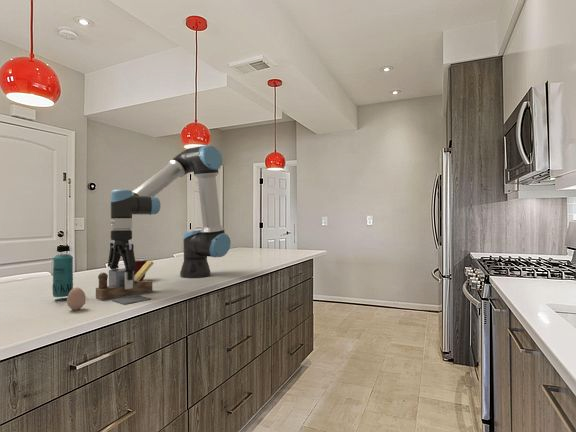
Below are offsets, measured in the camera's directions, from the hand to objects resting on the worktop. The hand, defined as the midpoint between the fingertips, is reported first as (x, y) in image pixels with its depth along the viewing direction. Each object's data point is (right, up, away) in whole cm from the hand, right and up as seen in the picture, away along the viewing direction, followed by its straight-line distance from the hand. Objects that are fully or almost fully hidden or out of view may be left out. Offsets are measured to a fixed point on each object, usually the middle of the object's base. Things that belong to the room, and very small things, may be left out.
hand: (121, 286), depth 139 cm
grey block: (0, +1, 0) cm, 1 cm away
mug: (-7, -4, +29) cm, 31 cm away
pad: (+7, -3, -8) cm, 11 cm away
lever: (+3, +1, +4) cm, 5 cm away
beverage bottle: (-19, -4, -6) cm, 20 cm away
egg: (-5, -4, -21) cm, 22 cm away
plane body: (+1, -3, +1) cm, 4 cm away
